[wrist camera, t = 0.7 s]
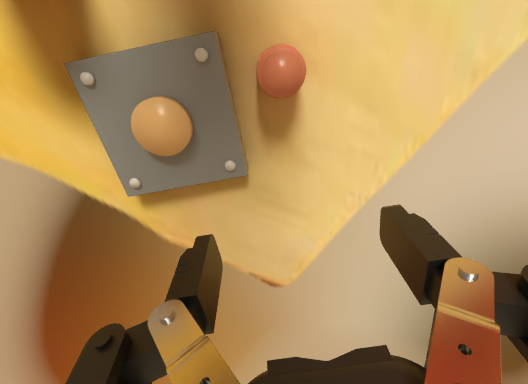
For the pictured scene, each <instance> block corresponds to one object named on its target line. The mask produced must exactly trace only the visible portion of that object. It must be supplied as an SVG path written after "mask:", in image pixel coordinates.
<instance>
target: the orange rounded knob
mask: <svg viewBox="0 0 528 384" xmlns="http://www.w3.org/2000/svg"><path fill="white" fill-rule="evenodd" d="M305 75H306V67H305V62H304V59H303V57H302V56H301V54H300V53H299V52H298V51H297V50H296V49H295V48H293V47H291V46H289V45H276V46H273V47H270V48H268V49H267V50H266V51H264V52H263V53H262V55H261V56H260V58H259V60H258V63H257V78H258V82H259V84H260V86H261V88H262V89H263V90H264V91H265V92H266V93H267V94H268V95H270V96H272V97H275V98H286V97H289V96H291V95H293V94H295V93H296V92H297V91H298V90H299V89H300V87H301V86H302V84H303V82H304V79H305Z"/></svg>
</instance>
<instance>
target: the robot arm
mask: <svg viewBox="0 0 528 384" xmlns="http://www.w3.org/2000/svg"><path fill="white" fill-rule="evenodd" d="M380 217H381V218H380V239H381V243H382V245H383V247H384V249H385V250H386V252H387V253H388V255H389V256H390V258H391V260H392V261H393V263H394V264H395V266H396V267H397V269H398V270H399V272H400V274H401V275H402V277H403V278H404V280H405V281H406V283H407V284H408V286H409V288H410V289H411V291H412V292H413V294H414V295H415V297H416V299H417V300H418V301H419V303H420V305H425V304H432V305H433V307H434V308H435V312H434V317H433V323H432V328H431V334H430V339H429V345H428V350H427V355H426V360H425V365H424V367H422V366H421V365H419V364H417V363H415V362H413V361H410V360H408V359H405V358H402V357H398V356H393V355H390V353H389V350H388V348H387V346H386V345H382V346H375V347H368V348H360V349H355V350H353V351H351V352H348V353H346V354H344V355H341V356H339V357H337V358H335V359H332V360H330V361H321V360H314V359H307V358H299V357H292V358H284V359H276V360H269V361H267V368H268V371H266V372H263V373H262V374H260V375H258V376H257V377H256V378H254V379H253V380H252V381H250V383H248V384H502V383H501V343H500V335H506V336H507V337H508V338H509V339H510V341H511V342H512V343H513V344H514V346H515V347H516V348H517V349H518V350H519V352H520V353H521V354H522V356H523V357H524V358H525V359H526V361H527V362H528V265H526V266H525V267H524V268H523V269H522V271H521V274H510V273H499V272H491V271H490V270H489V269H488V268H487V267H486V266H485V265H483V264H482V263H480V262H478V261H475V260H472V259H468V258H463V257H462V256H461V255H460V254H459V253H458V252H457V251H456V250H455V249H454V248H453V247H452V246H451V245H450V244H449V243H448V242H447V241H446V240H445V239H444V238H443V237H442V236H441V235H439V233H438V232H437V231H436V230H435V229H434V228H432V226H431V225H430V224H429V223H428V222H427V221H426V220H425V219H424V218H422V217H420V216H418V215H416V214H414V213H413V214H408V213H407V211H406V210H405V209H404V208H403V207H402V206H401V205H393V206H387V207H382V208H381V216H380ZM221 277H222V259H221V256H220V253H219V250H218V247H217V244H216V241H215V238H214V236H213V234H210V235H204V236H198V237H196V239H195V243H194V246H193V248H189V249H187V250H186V251H185V252H184V253H183V255H182V256H181V257H180V259H179V262H178V265H177V268H176V271H175V275H174V277H173V279H172V282H171V285H170V288H169V291H168V294H167V297H166V300H165V302H164V303H162V304H160V305H159V306H158V307H156V308H155V309H154V311H153V312H152V313H151V315H150V316H149V319H148V320H147V321H145V322H143V323H141V324H138V325H136V326H134V327H131V328H129V329H127V330H125V329H124V327H123V326H122V325H121V324H116V323H115V324H110V325H107V326H105V327H103V328H101V329H100V330H98V331H97V332H96V333H95V334H93V335H92V336H91V338H90V339H89V340H88V341H87V343H86V345H85V346H84V348H83V350H82V352H81V354H80V356H79V358H78V360H77V362H76V364H75V366H74V368H73V370H72V372H71V374H70V376H69V378H68V380H67V382H66V384H152V382H153V381H155V380H157V379H159V378H161V377H163V376H165V375H167V374H168V376H169V379H170V380H171V383H172V384H240V383H239V381H238V380H237V378H236V377H235V375H234V374H233V372H232V371H231V369H230V368H229V366H228V365H227V364H226V362H225V361H224V359H223V358H222V356H221V355H220V353H219V352H218V350H217V349H216V347H215V346H214V345H213V343H212V342H211V340H210V339H209V338H208V337H207V336H205V334H211V333H214V326H215V319H216V312H217V305H218V298H219V290H220V284H221Z"/></svg>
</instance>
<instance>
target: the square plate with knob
mask: <svg viewBox="0 0 528 384" xmlns="http://www.w3.org/2000/svg"><path fill="white" fill-rule="evenodd" d="M64 65H65V67H66V69H67V71H68V73H69V75H70V77H71V79H72V81H73V83H74V86H75V88H76V90H77V92H78V94H79V96H80V98H81V100H82V102H83V104H84V106H85V108H86V110H87V113H88V115H89V117H90V119H91V121H92V123H93V125H94V127H95V129H96V131H97V133H98V135H99V137H100V139H101V142H102V144H103V146H104V148H105V150H106V152H107V154H108V156H109V158H110V160H111V162H112V164H113V166H114V169H115V171H116V173H117V175H118V177H119V179H120V181H121V183H122V185H123V187H124V189H125V191H126V193H127V195H128V197H129V196H135V195H141V194H146V193H152V192H157V191H163V190H169V189H174V188H180V187H185V186H191V185H196V184H202V183H208V182H213V181H219V180H224V179H230V178H236V177H241V176H247V175H248V164H247V160H246V155H245V151H244V146H243V142H242V138H241V133H240V129H239V124H238V120H237V116H236V111H235V107H234V102H233V98H232V93H231V89H230V85H229V80H228V76H227V71H226V67H225V63H224V58H223V54H222V49H221V45H220V41H219V36H218V33H217V32H215V31H212V32H208V33H203V34H198V35H194V36H189V37H184V38H179V39H175V40H170V41H165V42H161V43H156V44H151V45H147V46H142V47H137V48H133V49H128V50H123V51H119V52H114V53H109V54H105V55H100V56H95V57H91V58H86V59H81V60H77V61H72V62H67V63H64Z"/></svg>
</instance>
